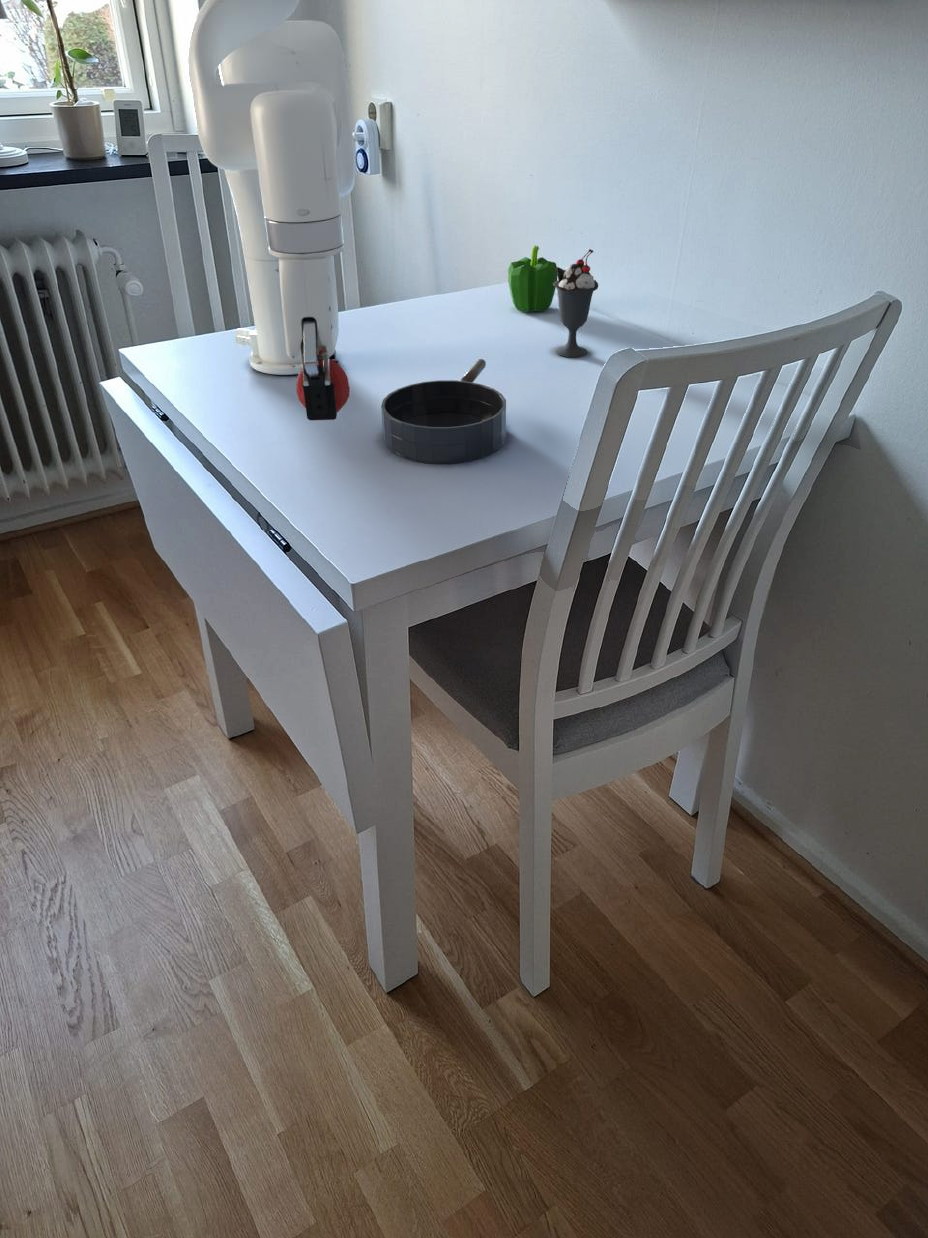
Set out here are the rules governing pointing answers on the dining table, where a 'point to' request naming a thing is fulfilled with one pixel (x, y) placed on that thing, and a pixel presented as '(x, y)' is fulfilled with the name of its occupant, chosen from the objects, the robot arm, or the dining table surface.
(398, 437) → the pan
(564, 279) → the sundae
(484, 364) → the pan handle
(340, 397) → the onion
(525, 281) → the bell pepper
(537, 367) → the dining table surface
